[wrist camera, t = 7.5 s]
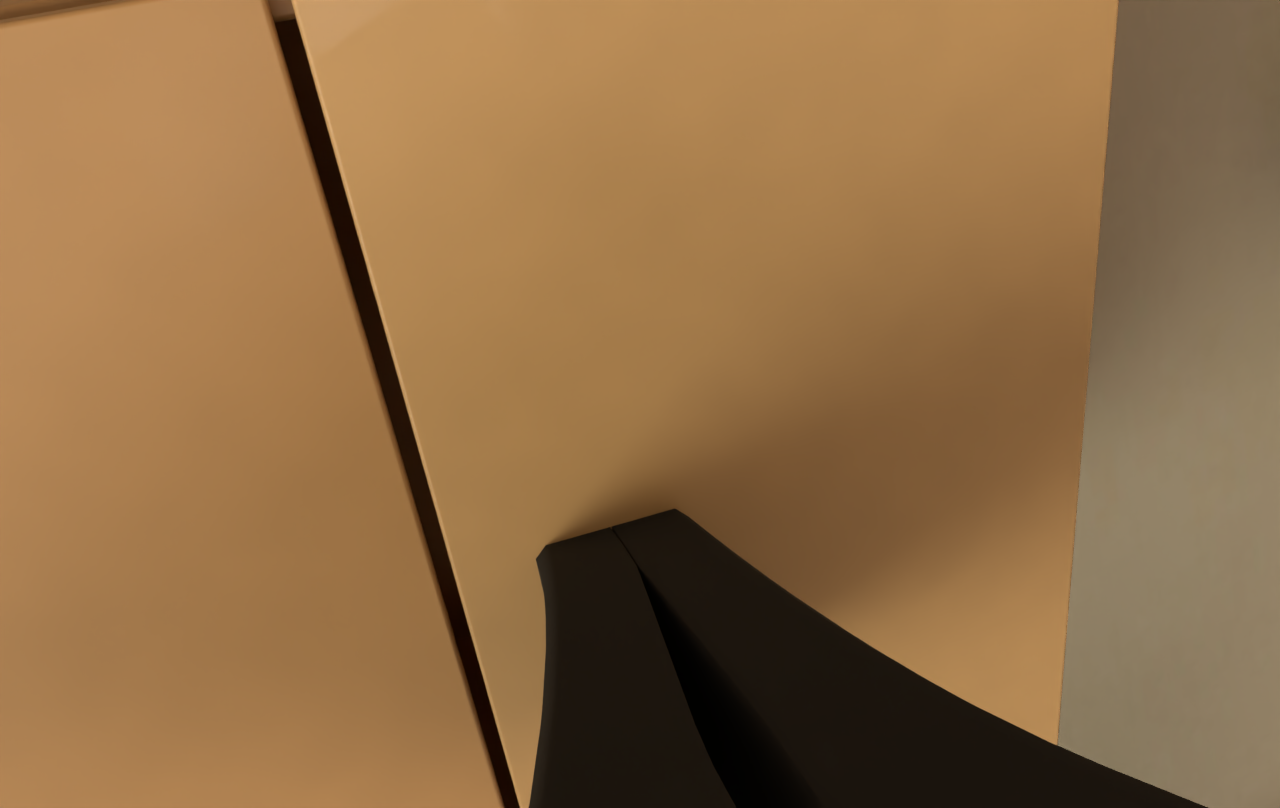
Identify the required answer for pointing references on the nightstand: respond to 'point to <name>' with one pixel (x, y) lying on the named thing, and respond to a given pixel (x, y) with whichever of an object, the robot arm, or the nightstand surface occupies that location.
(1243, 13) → the nightstand surface
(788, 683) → the robot arm
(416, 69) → the flap
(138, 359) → the carton
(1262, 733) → the nightstand surface
